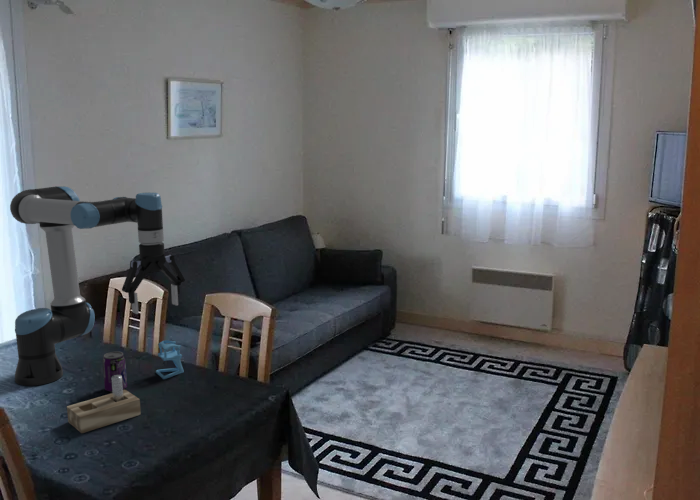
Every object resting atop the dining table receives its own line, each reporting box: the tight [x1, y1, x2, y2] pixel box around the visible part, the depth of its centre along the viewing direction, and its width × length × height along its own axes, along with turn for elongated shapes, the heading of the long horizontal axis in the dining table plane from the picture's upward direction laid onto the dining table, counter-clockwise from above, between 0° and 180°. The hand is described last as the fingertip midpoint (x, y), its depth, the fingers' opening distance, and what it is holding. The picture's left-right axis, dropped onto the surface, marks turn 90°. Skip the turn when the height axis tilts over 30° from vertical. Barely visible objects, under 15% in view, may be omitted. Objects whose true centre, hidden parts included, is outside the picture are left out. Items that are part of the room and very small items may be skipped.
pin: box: [111, 375, 124, 402], centre depth 206 cm, size 3×3×12 cm
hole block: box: [66, 389, 142, 434], centre depth 204 cm, size 10×18×5 cm, turn 133°
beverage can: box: [101, 351, 128, 393], centre depth 225 cm, size 7×7×12 cm
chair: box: [155, 339, 184, 380], centre depth 238 cm, size 8×8×12 cm
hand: (155, 308), depth 216 cm, fingers open, 13 cm apart
